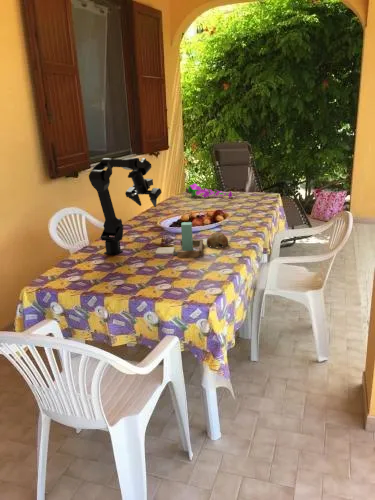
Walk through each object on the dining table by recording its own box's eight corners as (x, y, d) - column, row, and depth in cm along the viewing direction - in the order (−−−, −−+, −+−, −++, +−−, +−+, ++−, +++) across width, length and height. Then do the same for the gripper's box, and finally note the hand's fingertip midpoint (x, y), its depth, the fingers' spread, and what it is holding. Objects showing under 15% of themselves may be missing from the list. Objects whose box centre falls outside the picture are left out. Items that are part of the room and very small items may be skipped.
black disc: (179, 256, 192) (179, 255, 191) (170, 255, 194) (170, 254, 194) (186, 253, 195) (186, 252, 195) (177, 251, 198) (177, 251, 198)
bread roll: (209, 255, 202) (211, 242, 197) (203, 241, 209) (204, 228, 204) (229, 252, 204) (231, 240, 199) (222, 238, 212) (224, 226, 206)
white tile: (155, 254, 196) (155, 253, 196) (157, 248, 204) (157, 247, 204) (173, 253, 195) (173, 252, 195) (174, 248, 203) (174, 247, 203)
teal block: (182, 252, 197) (181, 225, 193) (183, 249, 201) (181, 222, 197) (192, 252, 196) (191, 224, 192) (193, 249, 201) (191, 222, 197)
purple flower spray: (187, 201, 324) (232, 206, 313) (181, 193, 309) (228, 198, 297) (191, 185, 326) (236, 189, 315) (184, 177, 311) (231, 182, 299)
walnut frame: (177, 257, 191) (177, 251, 190) (180, 245, 207) (180, 240, 207) (201, 256, 190) (201, 251, 189) (203, 244, 206) (202, 239, 206)
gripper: (161, 172, 214) (170, 197, 223) (131, 171, 222) (140, 196, 232) (151, 185, 207) (160, 210, 217) (120, 183, 215) (130, 208, 225)
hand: (148, 206), depth 223 cm, fingers open, 9 cm apart
